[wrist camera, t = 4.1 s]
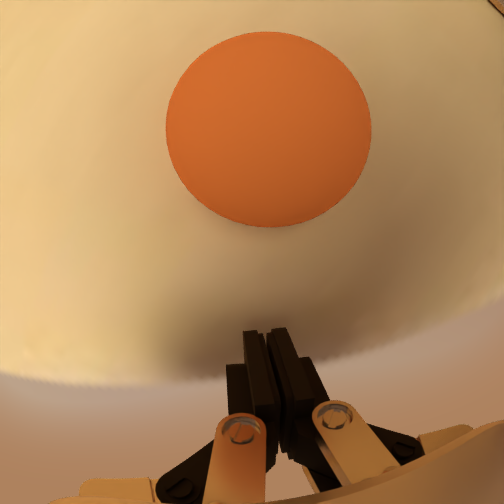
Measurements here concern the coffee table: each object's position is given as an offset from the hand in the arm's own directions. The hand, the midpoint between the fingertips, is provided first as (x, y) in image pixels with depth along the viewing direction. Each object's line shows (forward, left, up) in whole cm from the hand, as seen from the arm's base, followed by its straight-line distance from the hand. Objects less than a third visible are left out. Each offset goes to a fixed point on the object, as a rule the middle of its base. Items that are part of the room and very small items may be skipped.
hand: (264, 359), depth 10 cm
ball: (0, -8, +1) cm, 8 cm away
